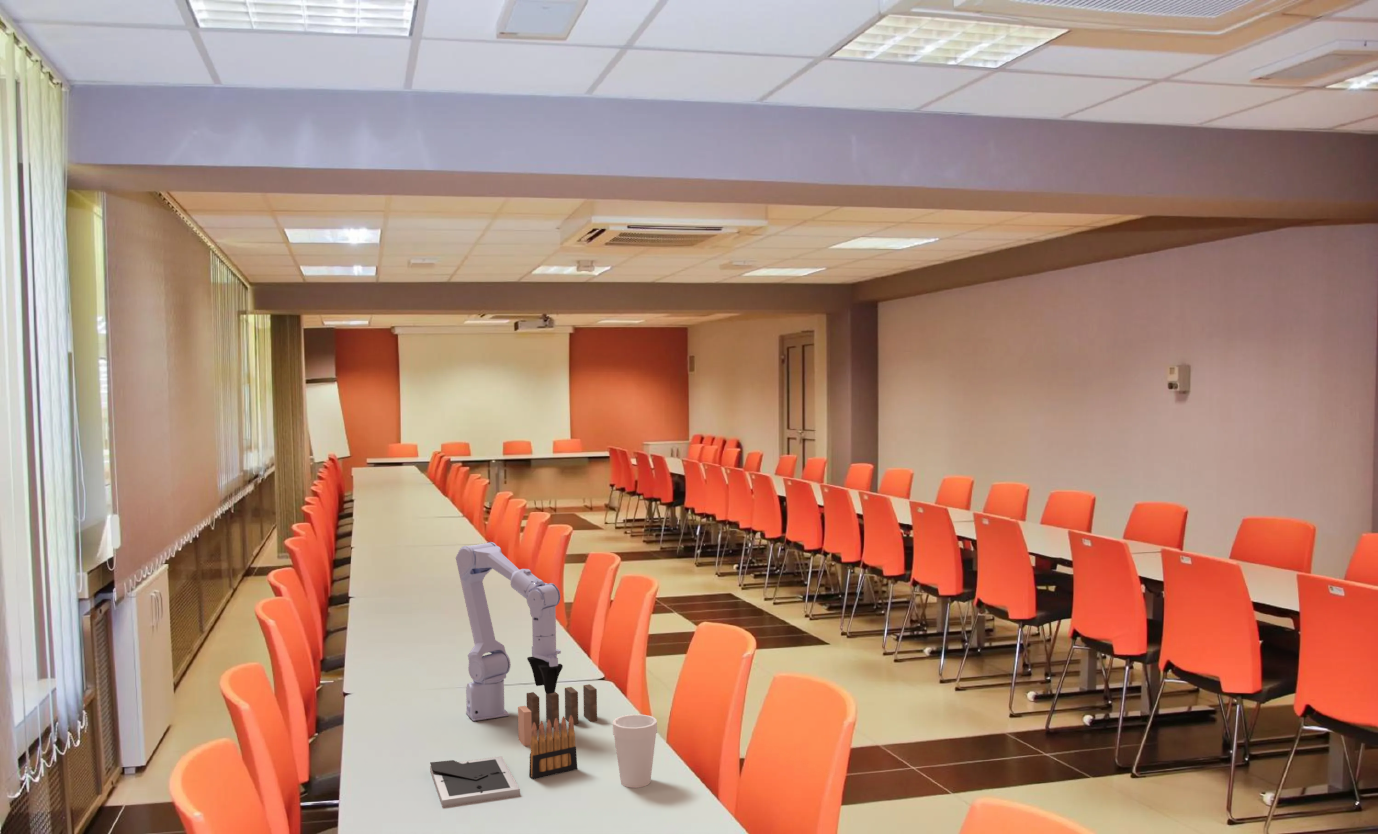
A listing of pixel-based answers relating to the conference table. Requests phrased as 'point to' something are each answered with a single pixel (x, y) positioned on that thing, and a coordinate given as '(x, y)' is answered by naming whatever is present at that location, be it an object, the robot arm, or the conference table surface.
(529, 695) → the brown rectangular block
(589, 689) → the brown flat block
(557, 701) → the tile
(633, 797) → the conference table surface
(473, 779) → the picture frame
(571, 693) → the tile
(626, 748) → the foam cup
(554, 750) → the ammunition clip
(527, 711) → the tile
